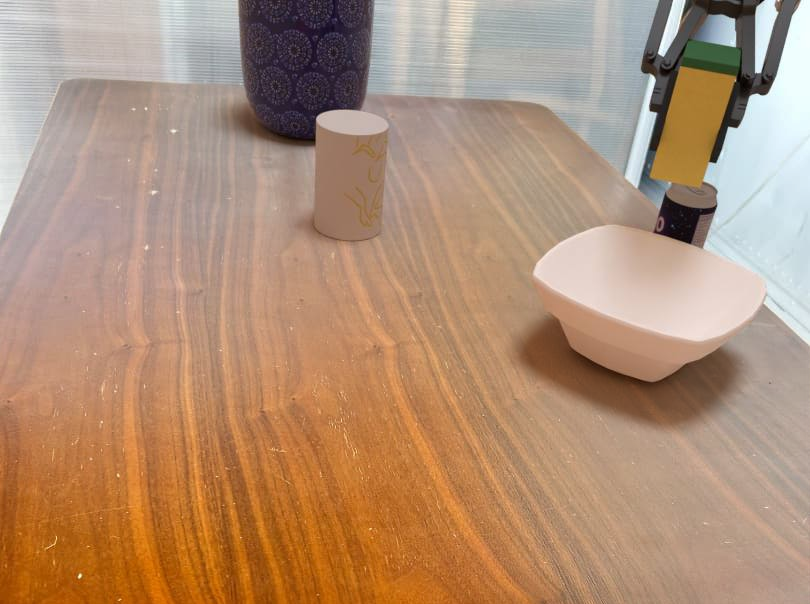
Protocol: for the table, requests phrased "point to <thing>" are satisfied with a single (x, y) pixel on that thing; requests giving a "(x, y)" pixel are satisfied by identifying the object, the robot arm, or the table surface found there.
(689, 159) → the sponge
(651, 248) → the bowl
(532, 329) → the table surface
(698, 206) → the beverage can
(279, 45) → the planter
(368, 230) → the beige patterned cylinder
